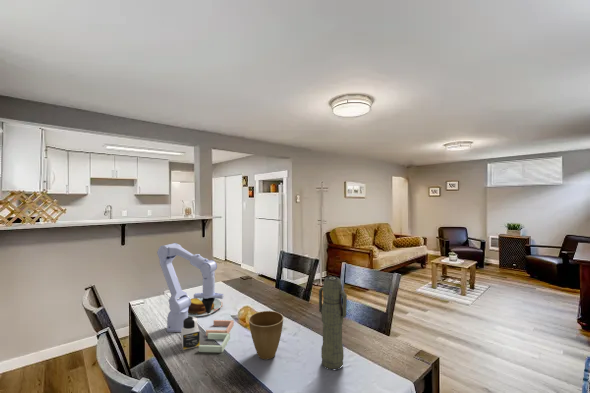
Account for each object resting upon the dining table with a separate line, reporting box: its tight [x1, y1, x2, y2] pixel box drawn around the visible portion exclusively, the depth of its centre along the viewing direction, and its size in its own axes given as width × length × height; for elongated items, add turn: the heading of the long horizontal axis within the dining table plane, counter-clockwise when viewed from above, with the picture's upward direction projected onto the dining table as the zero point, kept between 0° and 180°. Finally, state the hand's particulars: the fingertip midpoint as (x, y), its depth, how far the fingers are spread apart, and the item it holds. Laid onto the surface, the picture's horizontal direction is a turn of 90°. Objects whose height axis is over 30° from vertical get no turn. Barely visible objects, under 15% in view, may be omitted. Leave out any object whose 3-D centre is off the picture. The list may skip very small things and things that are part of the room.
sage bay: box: [198, 332, 231, 353], centre depth 129 cm, size 10×12×2 cm
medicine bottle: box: [180, 316, 201, 351], centre depth 129 cm, size 7×7×12 cm
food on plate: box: [188, 297, 223, 317], centre depth 170 cm, size 25×25×7 cm
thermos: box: [318, 275, 348, 370], centre depth 115 cm, size 9×12×35 cm
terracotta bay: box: [205, 319, 235, 337], centre depth 143 cm, size 10×12×2 cm
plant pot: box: [248, 310, 284, 360], centre depth 121 cm, size 15×15×16 cm
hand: (208, 312), depth 140 cm, fingers closed
